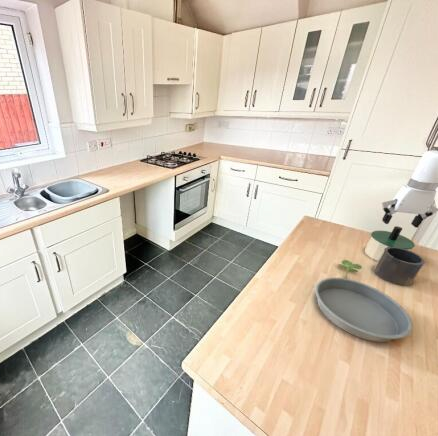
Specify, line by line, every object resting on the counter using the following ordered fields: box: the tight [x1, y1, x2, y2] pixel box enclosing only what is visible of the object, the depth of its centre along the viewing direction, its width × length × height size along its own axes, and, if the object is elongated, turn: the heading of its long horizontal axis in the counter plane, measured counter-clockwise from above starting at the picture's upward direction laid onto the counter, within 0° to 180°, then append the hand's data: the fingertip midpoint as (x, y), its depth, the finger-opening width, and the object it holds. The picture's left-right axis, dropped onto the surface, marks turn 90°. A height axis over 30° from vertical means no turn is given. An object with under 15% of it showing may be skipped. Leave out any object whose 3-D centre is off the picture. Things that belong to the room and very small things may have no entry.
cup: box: [373, 247, 426, 286], centre depth 93 cm, size 11×11×10 cm
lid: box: [370, 225, 416, 250], centre depth 101 cm, size 14×14×7 cm
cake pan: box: [315, 277, 414, 343], centre depth 79 cm, size 25×25×4 cm
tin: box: [364, 235, 412, 262], centre depth 104 cm, size 13×13×8 cm
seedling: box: [337, 259, 362, 278], centre depth 96 cm, size 7×8×6 cm
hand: (399, 224), depth 99 cm, fingers open, 9 cm apart
